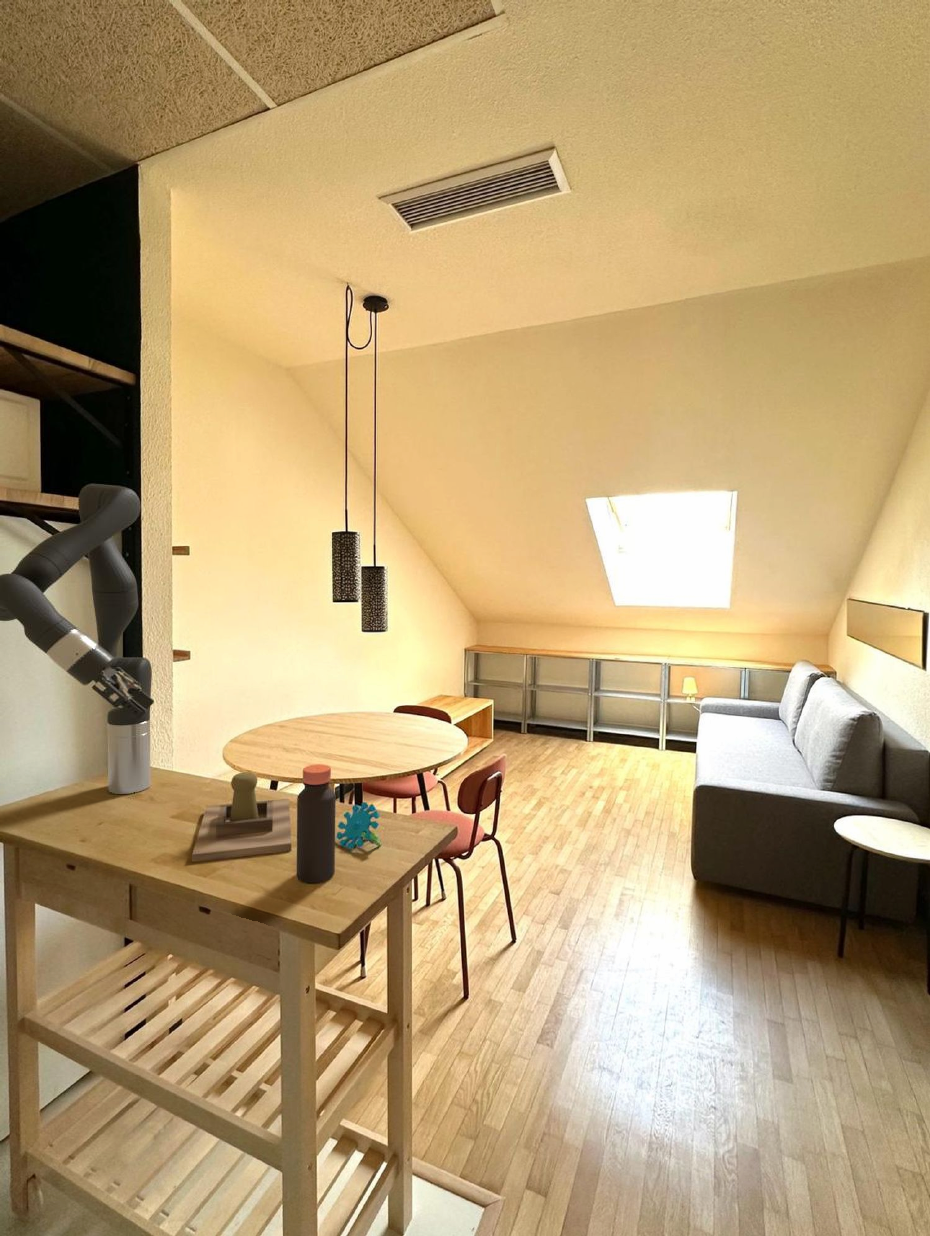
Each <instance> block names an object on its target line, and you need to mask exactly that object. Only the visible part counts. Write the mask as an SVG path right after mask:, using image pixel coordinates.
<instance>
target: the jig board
mask: <svg viewBox="0 0 930 1236" xmlns="http://www.w3.org/2000/svg"><path fill="white" fill-rule="evenodd" d="M256 803H257V810H258V817H259V819H250V820H240V821H230V815H231V808H232V803H225V804H217V805H207V806H206V808H205V810H204V813H203V817H202V820H201V824H200V827H199V829H198V830H199V831H198V834H197V837H196V840H195V844H194V848H193V851H192V855H191V857H192V858H191V862H192V863H196V862H197V863H198V862H206V861H215V860H221V859H230V858H238V857H248V856H256V855H264V854H265V855H267V854H271V853H273V854H274V853H282V852H290V851H292V832H291V817H290V814H291V813H290V812H291V811H290V799H289V798H282V799H281V798H280V799H271V800H260V801H256Z"/></svg>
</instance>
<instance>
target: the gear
mask: <svg viewBox="0 0 930 1236" xmlns="http://www.w3.org/2000/svg"><path fill="white" fill-rule="evenodd" d="M351 808H352V813H350V811H347V812H345V813H344V814H343V817H344V818H345V819H346V823H344V822H343V821H340V822H339V823H338V825H337V827H338V828H339V829H340V830H344V832H343V833H342V832H341V831H338V832H337V833H336V836H335V839H338V840H339V841H338V842H339V845H340V846H341V848H345V847H346V848H347V849H349V850H350V851H353V850H354V848H355V845H356V846H357V847H358V848H361V847H363V846H364V845H365V843H364V840H365V841H368V842H369V843H370V844H371V845H374V844H375V845H376V846H377V847H379V848H380V847H382V843H381V842H380V841H379V840H378V839H379V836H378V835H377V834H375V833H374V832H372V830H370V827H371V828H372V829H373V830H376V829H377V828H378V826H379V824H380V823H379V822H377V821H376V820H374V821H371V819H372V818H374V819H378V818H379V817H380V812H379V811H378V810H376V809H377V808H376V806H375V805H374V804H373V803H370V804H368V803H367V802H365V801H363V802H362V803H361V806H359V805H358V804H355V805H352V807H351ZM370 812H372V813H370ZM345 837H346V838H345ZM343 838H344V839H343Z"/></svg>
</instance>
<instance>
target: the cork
mask: <svg viewBox="0 0 930 1236" xmlns="http://www.w3.org/2000/svg"><path fill="white" fill-rule="evenodd" d="M230 785H231V786H230V787H231V789H232V790H233V793H232V794H233V796H232V802H231V804H232V808H231V815H230V821H240V820H250V819H259V817H258V810H257V803H256V802H257V797H256V787H257V785H258V777H257V775H256V774H255V773H253V772H249V771H247V772H246V771H245V772H240V773H236V774H234V775H233V777H232V778H231V782H230Z"/></svg>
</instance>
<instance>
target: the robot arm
mask: <svg viewBox="0 0 930 1236" xmlns="http://www.w3.org/2000/svg"><path fill="white" fill-rule="evenodd" d="M77 500H78V501H77V504H78V505H77V507H78V512H79V517H80V523H78V524H76V525H74V526H71V527H69V528H66V529H64V530H61V531H59V532H57V533H55V534H53V535H51V536H50V537H48V538H46V539H44V540H42V541H41V542H39V543H38V544H37V545H36V546H35V547H34V548H33V549H32V550H30V551H29V552H28V553H27V554H26V555H25V556H24V557H22V558H21V560H20V561H19V563H18V564H17V566H16V567H15V569H14V570H12V572H10V573H3V574H0V622H9V621H14V620H17V621H18V622H19V623H20V624H21V625H22V627H23V631H24V636H25V637H26V638H27V639H28V641H30V642H31V643H32V644H34V645H35V646H36V647H37V648H38V649H39V650H40V651H42V652H43V653H44V654H46V655H47V656H48V657H49V659H51V660H52V661H53V662H54V664H56V665H57V666H58V667H60V668H61V669H62V670H63V671H65V672H66V673H67V674H68V675H70V676H71V677H72V678H73V679H75V680H76V681H77V682H79V684H81V685H83V686H88V685H89V684H91V683H92V682H94V683H95V684H93V685H92V686H91V689H92V690H93V691H95V692H96V693H97V694H98V695H99V696H100V697H102V698H103V699H104V700H106V701H107V702H108V703H109V704H110V705H111V706H113V708H112V709H110V710H109V711H108V713H107V716H106V717H107V719H106V720H107V775H108V776H107V779H108V780H107V782H108V783H107V788H108V790H109V791H108V792H109V793H110V792H112V793H111V794H113V793H114V794H115V795H127V794H134V792H135V793H138V792H142V791H144V790H147V789H149V788H150V787H151V706H152V705H154V703H155V699H153V697H152V695H151V694H152V682H153V681H152V680H153V679H152V677H153V674H152V673H153V670H152V664H151V662H150V660H149V659H148V658H146V657H119V656H118V645H119V642H120V640H121V637H122V636H123V633H124V632H125V630H126V629H127V627H128V626H129V624H130V623H131V622H132V620H133V618H134V617H135V615H136V613H137V612H138V611H137V610H138V608H139V596H138V595H139V594H138V584H137V580H136V577H135V574H134V573H133V571H132V569H131V568H130V566H129V565H128V563H127V561H126V560H125V558H124V557H123V556H122V554H121V552H120V551H119V550H118V549H119V548H118V547H117V545H116V542H115V536H116V535H117V534H119V533H121V532H122V531H124V530H125V529H127V528H128V527H130V526H131V525H133V524H134V522H135V521H137V519H138V517H140V513H141V508H142V507H141V500H140V498H139V496H138V495H137V493H136V492H135V491H134V490H133V489H131V488H128V487H126V486H121V485H112V484H101V483H99V484H98V483H89V484H86V485H85V486H84V487H82V489H81V490H80V492H79V495H78V499H77ZM86 555H87V556H88V557H87V558H88V564H89V570H90V580H91V592H92V594H91V595H92V601H93V602H92V603H93V609H94V616H95V622H96V633H97V642H96V641H95V640H94V639H93V638H92V637H91V636H89V635H88V634H87V633H85V632H83V631H81V630H80V629H79V628H77V626H75V625H74V624H72V623H71V621H69V620H68V619H66V617H64V616H63V615H62V614H60V613H59V612H58V610H57V609H56V608H55V606H54V605H53V604H52V602H51V601H50V600H49V599H48V597H47V596H46V595H45V594H44V593H45V592H46V591H47V590H48V589H49V588H51V586H53V584H55V583H57V581H59V580H60V578H62V577H63V576H64V575H65V574H66V573H67V572H68V571H69V570H70V569H71V568H73V566H75V564H77V563H79V561H80V560H81V559H83V558H84V557H85V556H86ZM151 697H152V698H151ZM114 794H113V795H114Z"/></svg>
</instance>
